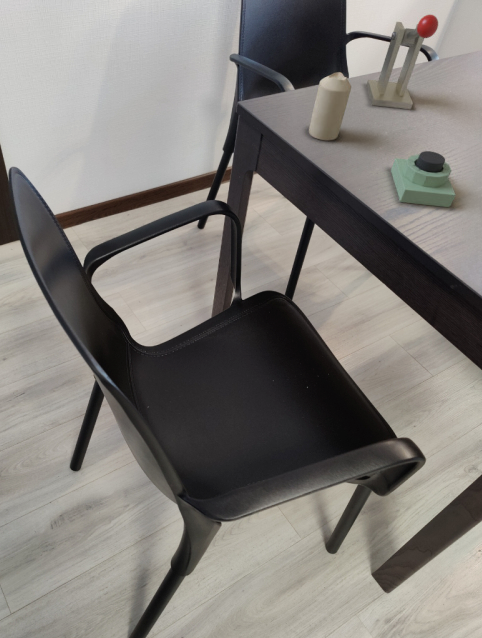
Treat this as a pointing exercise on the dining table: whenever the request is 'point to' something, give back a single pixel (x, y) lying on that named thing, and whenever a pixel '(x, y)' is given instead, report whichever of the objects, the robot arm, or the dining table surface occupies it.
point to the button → (430, 162)
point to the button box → (422, 183)
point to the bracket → (397, 92)
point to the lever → (420, 30)
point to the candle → (330, 106)
